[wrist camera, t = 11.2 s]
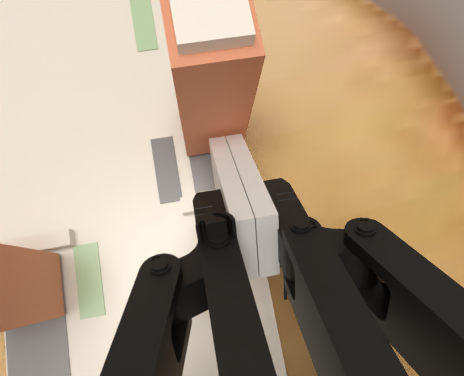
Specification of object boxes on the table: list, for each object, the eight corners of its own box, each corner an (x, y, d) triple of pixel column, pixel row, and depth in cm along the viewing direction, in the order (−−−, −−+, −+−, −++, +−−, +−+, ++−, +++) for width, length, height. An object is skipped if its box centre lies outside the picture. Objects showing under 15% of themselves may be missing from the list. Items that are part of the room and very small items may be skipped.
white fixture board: (25, 581, 18) (-7, 633, 16) (-10, 21, 25) (-37, -11, 22) (321, 505, 20) (339, 542, 17) (216, -7, 26) (217, -40, 23)
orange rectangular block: (187, 156, 21) (169, 58, 12) (178, 104, 22) (154, -28, 12) (242, 147, 21) (268, 44, 12) (232, 96, 22) (249, -40, 13)
